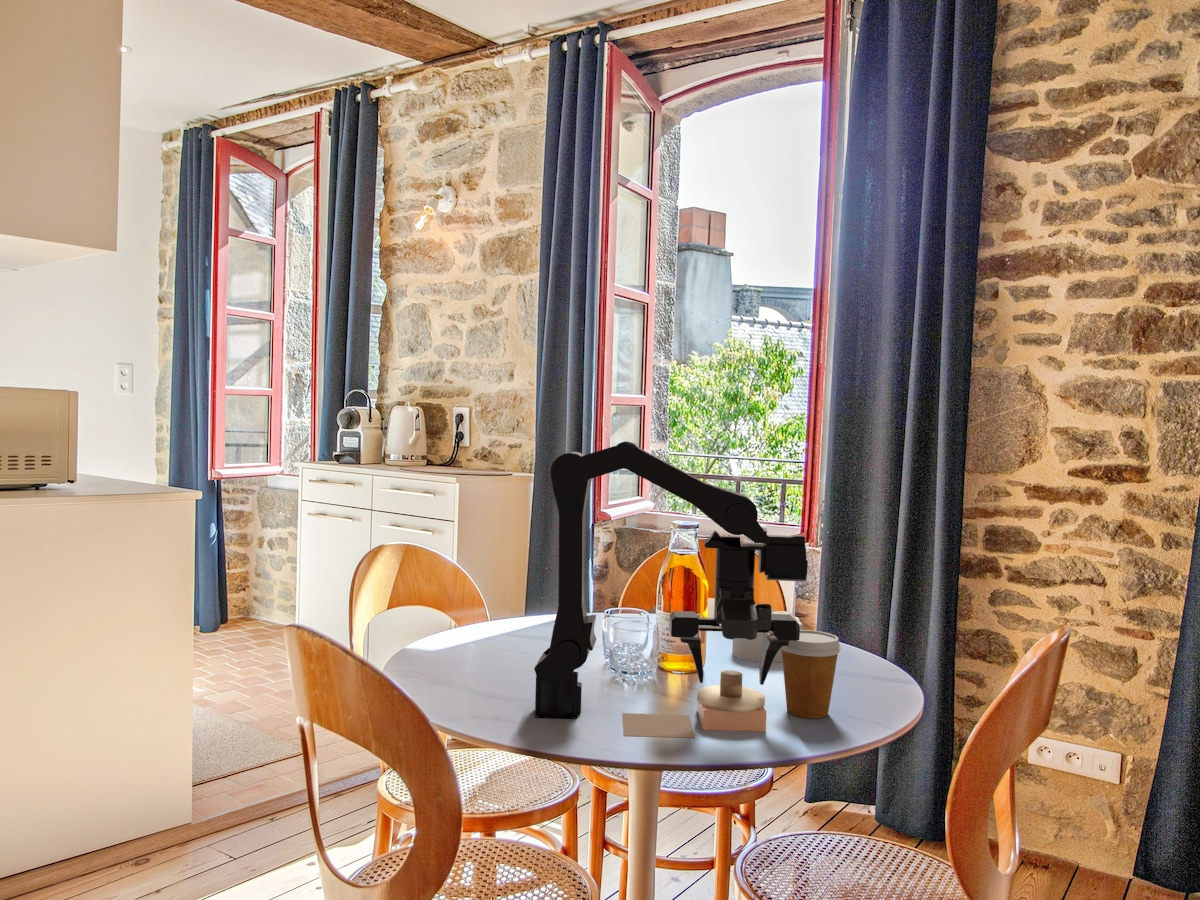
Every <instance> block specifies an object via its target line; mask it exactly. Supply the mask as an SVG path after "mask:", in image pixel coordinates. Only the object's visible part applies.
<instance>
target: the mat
mask: <svg viewBox="0 0 1200 900" xmlns="http://www.w3.org/2000/svg"><path fill="white" fill-rule="evenodd" d="M622 728H623V736H624V737H637V738H638V737H641V738H642V737H643V738H644V737H645V738H646V737H647V738H672V739H673V738H675V739H679V738H680V739H682V738H683V739H696V736H695V732H694V729H693V725H692V721H691V719H690V715H689V714H668V713H667V714H666V713H665V714H661V713H631V712H629V713H626V712H623V713H622Z"/></svg>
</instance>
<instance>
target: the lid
mask: <svg viewBox="0 0 1200 900" xmlns="http://www.w3.org/2000/svg"><path fill="white" fill-rule="evenodd" d="M719 683H720V684H715V685H714V684H713V685H709V686H705V687H701V688H699V689H698V690H697V692H696V701H698V702H699V703H700V704H701V705H703V706H705V707H708V708H711V709H715V710H721V711H729V712H747V711H754V710H758V709H761V708H762V707H764V708H765V704H766V696H765V694H764V693H762V692H761V691H759V690H757V689H754V688H751V687H745V686H743V673H742V672H741V671H738V670H722V671H721V672H720V682H719Z"/></svg>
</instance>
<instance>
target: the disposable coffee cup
mask: <svg viewBox="0 0 1200 900" xmlns="http://www.w3.org/2000/svg"><path fill="white" fill-rule="evenodd" d="M781 649H782V659H783V663H782V667H783V668H782V671H783V680H784V689H785V691H784V692H785V702H786V704H785V705H786V711H787V713H788V714H791V715H793V716H794V717H798V718H803V719H822V718H825V717H826V718H827V717H828V715H829V710H830V709H829V708H830V705H831V704H830V703H831V699H832V692H833V684H834V680H835V673H836V667H837V663H838V662H837V660H838V655H839V653H840V651H841V649H842V645H841V644H840V641H839V637H838V636H837V635H835V634H833V633H829V632H825V631H820V630H809V629H802V630H800V638H799V640H797V641H789V645H788V646H782V647H781Z"/></svg>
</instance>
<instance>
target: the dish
mask: <svg viewBox="0 0 1200 900" xmlns="http://www.w3.org/2000/svg"><path fill="white" fill-rule="evenodd" d="M696 701H697V700H696ZM696 704H697V705H696V712H697V715H698V718H699V720H700V725H701V727H702V731H718V732H719V731H725V732H755V733H757V732H758V733H759V732H760V733H767V732H766V731H767V709H766V708H765V706H764V707H762V708H761V709H758V710H754V711H747V712H729V711H721V710H715V709H711V708H708V707H705V706H703V705H701V704H700V703H699V702H698V701H697V702H696Z"/></svg>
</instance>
